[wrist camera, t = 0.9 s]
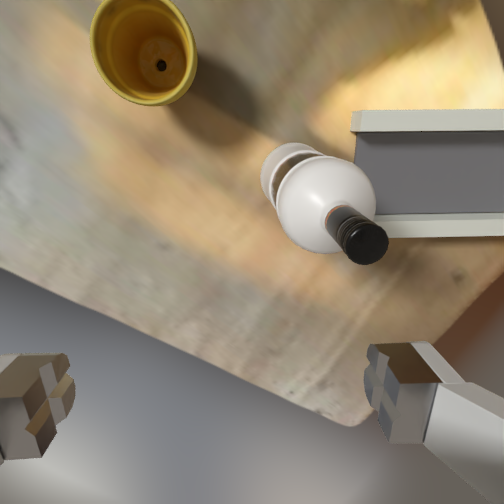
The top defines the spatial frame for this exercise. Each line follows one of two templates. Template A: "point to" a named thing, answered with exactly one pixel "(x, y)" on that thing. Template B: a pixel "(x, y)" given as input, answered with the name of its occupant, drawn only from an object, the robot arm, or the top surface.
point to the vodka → (323, 203)
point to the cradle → (434, 170)
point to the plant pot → (143, 50)
